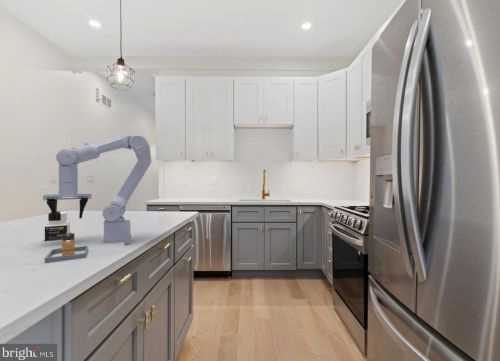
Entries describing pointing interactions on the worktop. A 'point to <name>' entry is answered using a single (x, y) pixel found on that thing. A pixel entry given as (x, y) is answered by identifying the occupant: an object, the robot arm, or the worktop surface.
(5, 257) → the worktop surface
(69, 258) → the tray
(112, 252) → the worktop surface
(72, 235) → the cell
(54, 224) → the medicine bottle
